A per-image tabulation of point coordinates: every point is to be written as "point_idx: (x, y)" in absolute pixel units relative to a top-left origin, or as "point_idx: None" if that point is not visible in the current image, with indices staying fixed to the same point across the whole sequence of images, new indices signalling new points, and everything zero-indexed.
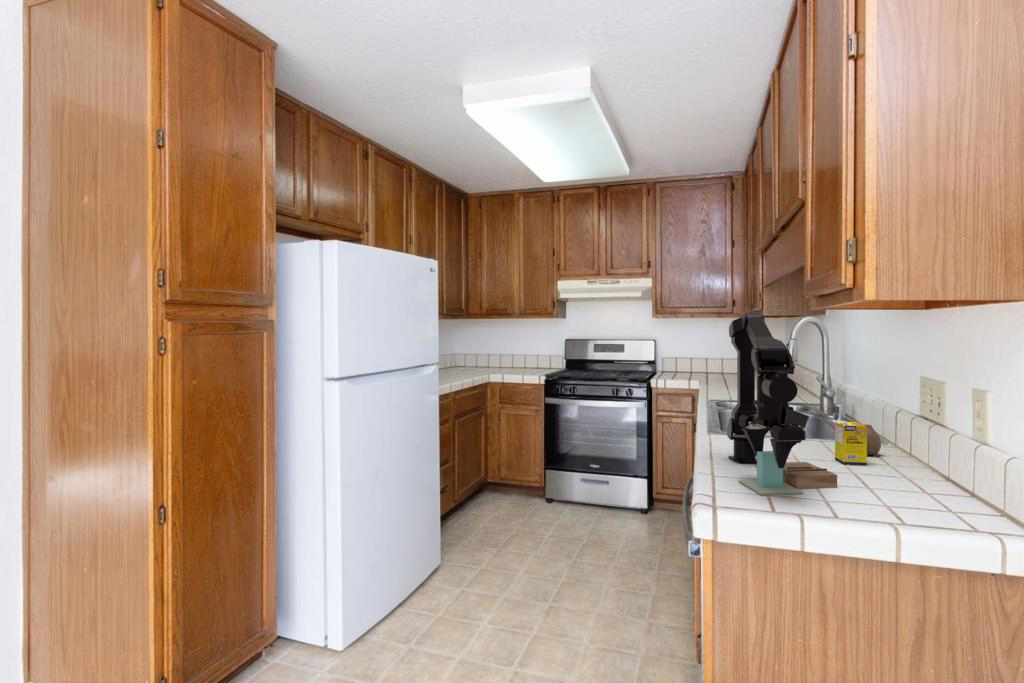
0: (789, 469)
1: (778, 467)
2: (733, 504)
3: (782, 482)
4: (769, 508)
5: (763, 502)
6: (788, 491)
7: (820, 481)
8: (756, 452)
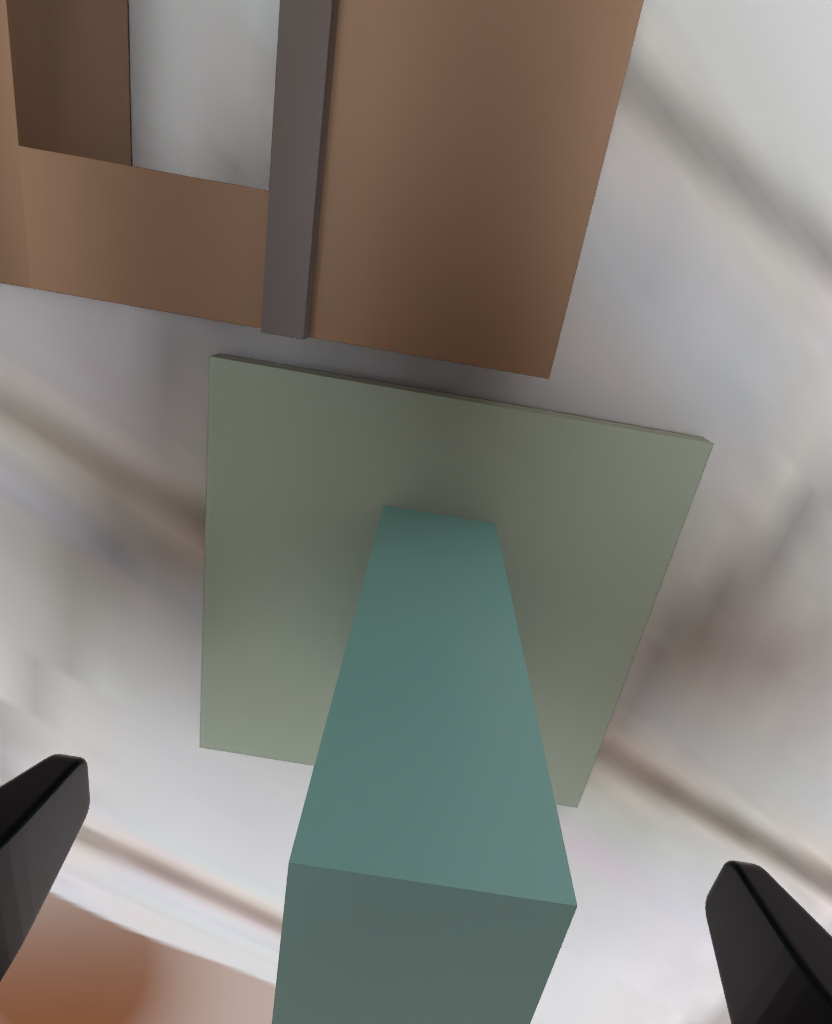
0: (272, 275)
1: (710, 914)
2: (649, 1008)
3: (500, 552)
4: (821, 899)
5: (707, 861)
6: (635, 575)
7: None
8: (27, 929)
